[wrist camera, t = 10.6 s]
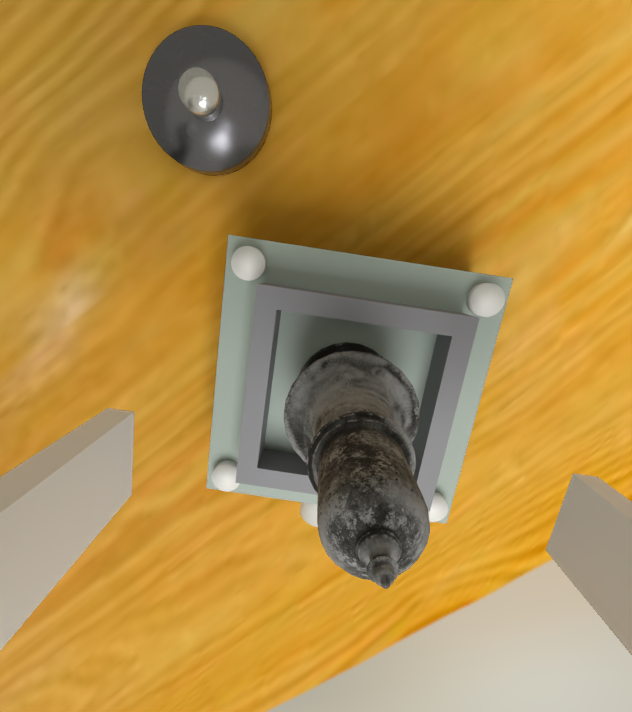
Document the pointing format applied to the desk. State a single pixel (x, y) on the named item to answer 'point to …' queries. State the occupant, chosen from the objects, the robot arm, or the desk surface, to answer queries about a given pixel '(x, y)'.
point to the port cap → (207, 100)
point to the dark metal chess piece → (360, 459)
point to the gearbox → (339, 325)
